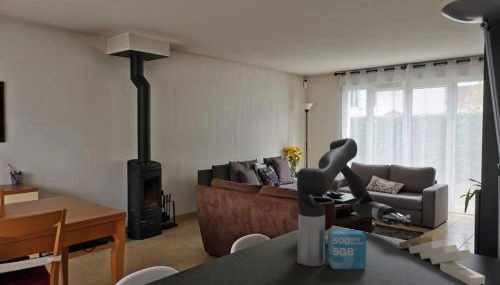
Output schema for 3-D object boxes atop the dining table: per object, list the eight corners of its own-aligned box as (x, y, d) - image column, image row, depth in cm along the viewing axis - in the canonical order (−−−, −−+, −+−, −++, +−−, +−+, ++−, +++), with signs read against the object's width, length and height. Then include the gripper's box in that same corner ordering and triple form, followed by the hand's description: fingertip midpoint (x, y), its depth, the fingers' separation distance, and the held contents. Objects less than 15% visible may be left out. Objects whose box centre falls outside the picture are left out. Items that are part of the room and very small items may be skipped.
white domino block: (430, 257, 130) (456, 250, 119) (442, 256, 131) (469, 249, 120) (432, 264, 129) (458, 258, 118) (444, 263, 130) (471, 257, 119)
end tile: (440, 262, 125) (470, 277, 113) (453, 261, 126) (485, 276, 114) (440, 269, 125) (470, 285, 113) (453, 268, 126) (484, 284, 114)
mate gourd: (342, 240, 156) (342, 193, 155) (321, 247, 147) (321, 197, 146) (313, 232, 168) (313, 188, 167) (292, 238, 159) (292, 192, 158)
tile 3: (419, 252, 136) (443, 245, 124) (431, 251, 137) (455, 244, 125) (421, 259, 135) (445, 253, 123) (433, 258, 136) (458, 252, 124)
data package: (330, 269, 126) (330, 234, 125) (327, 264, 131) (328, 230, 130) (366, 269, 126) (366, 234, 125) (362, 264, 130) (362, 230, 130)
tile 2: (408, 247, 141) (430, 241, 130) (420, 246, 142) (442, 240, 131) (410, 253, 140) (432, 248, 129) (421, 252, 142) (445, 247, 130)
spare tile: (398, 242, 147) (419, 237, 135) (409, 241, 148) (431, 236, 136) (400, 249, 146) (421, 244, 134) (411, 248, 147) (433, 242, 135)
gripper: (370, 205, 159) (395, 215, 143) (398, 204, 162) (425, 213, 146) (370, 223, 160) (394, 235, 143) (397, 221, 163) (424, 232, 146)
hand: (410, 224), depth 144 cm, fingers closed
